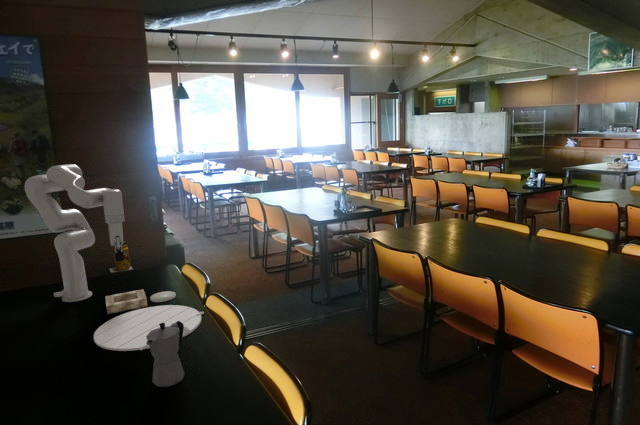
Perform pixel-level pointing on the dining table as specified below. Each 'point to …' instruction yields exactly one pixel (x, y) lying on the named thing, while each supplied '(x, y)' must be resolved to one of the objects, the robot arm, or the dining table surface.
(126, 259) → the condiment
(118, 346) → the lazy susan
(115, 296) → the holder
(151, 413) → the dining table surface
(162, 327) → the coffeepot
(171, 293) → the coaster
